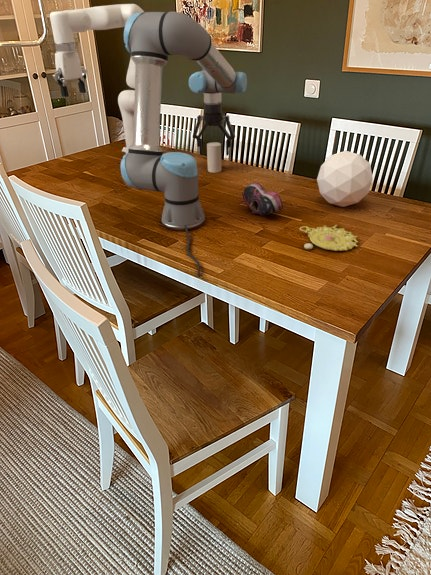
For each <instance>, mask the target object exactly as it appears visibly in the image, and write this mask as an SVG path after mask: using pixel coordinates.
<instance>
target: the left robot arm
mask: <svg viewBox="0 0 431 575" xmlns="http://www.w3.org/2000/svg"><path fill="white" fill-rule="evenodd" d="M142 12H145V11H144V10H143V8H142V7H140V6H139V5H137V4H135V3H118V4H107V5H99V6H98V5H97V6H91V7H85V8H75V9H64V10H59V11H51V12H50V13H49V20H50V24H51V25H50V26H51V30H52V36H53V41H54V45H55V46H54V47H55V53H54V62H55V72H54V73H53V74H52V77H53V79H54V81H55V83H56V84H57V85H58V87H59V88H60V93H61V96H62V97H63V98H68V97H70V96H69V90H68V86H67V85H66V84H67V82H68V81H73V80H77V81H78V82H77V86H78V90H79V93H80V94H86V93H87V90H86V84H85V83H86V79H87V74H88V70H87V69H86V68H84V67H82V63H81V60H80V56H79V53H78V51H77V49H76V48H77V44H76V42H75V37H74V33H85V32H87V31H106V30H113V29H119V28H125V25H126V22H127V20H128V19H129V18H130V17H131V15H133V14H135V13H142ZM135 71H136V65H135V63H134V62H133V60H132V59H131V58H129V64H128V68H127V72H126V78H125V82H126V85H127V86H128V87H129V88H131V89H124V90H122V91H121V92H120V93H119V94H118V96H117V104H118V107H119V111H120V114H121V118H122V125H123V134H124V139H125V140H124V141H125V146H123V148H122V149H121V152H122V153H125V154H127V153H128V148H129V147H130V146H131V145H132V144H133V133H134V102H135ZM133 89H134V90H133Z"/></svg>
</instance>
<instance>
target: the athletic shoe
mask: <svg viewBox="0 0 431 575" xmlns="http://www.w3.org/2000/svg"><path fill="white" fill-rule="evenodd" d="M241 197H242V199H243V201H238V203H239V204H241V205H245V206H246V207H247V208H248V210H249V211H250V210H251V213H252V214H255V215H260V217H266V216H267V215H270V214H274V213H275V212H279V211H282V210H283V209H284V205H283V201H282V198H281V196H280V195H279V194H278V192H277V191H274V190H269V191H267V190H266V189H265V187H264V186H263V185H262V184H261V183H258V182H251V183H249V184H247V186H246V187H245V188H244V190H243V191H242V192H241Z"/></svg>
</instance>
